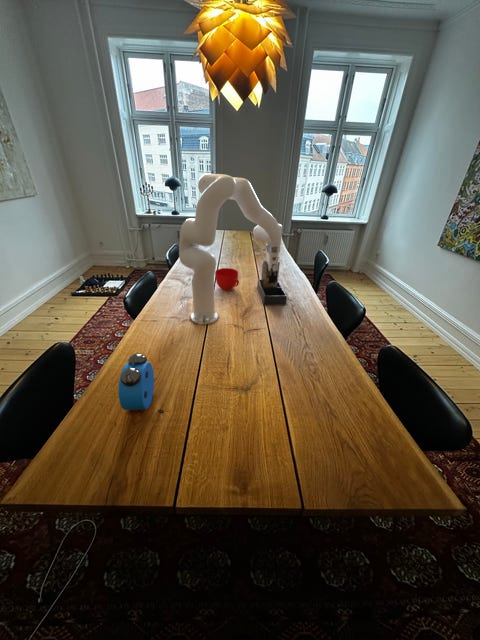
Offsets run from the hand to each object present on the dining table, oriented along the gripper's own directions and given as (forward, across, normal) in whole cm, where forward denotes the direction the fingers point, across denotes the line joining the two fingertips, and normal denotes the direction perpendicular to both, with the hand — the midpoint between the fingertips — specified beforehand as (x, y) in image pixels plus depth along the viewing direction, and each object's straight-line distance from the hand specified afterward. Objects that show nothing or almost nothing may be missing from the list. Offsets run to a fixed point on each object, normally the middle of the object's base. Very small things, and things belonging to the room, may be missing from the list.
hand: (269, 279), depth 144 cm
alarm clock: (+8, -78, +53) cm, 95 cm away
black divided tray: (+7, -6, 0) cm, 9 cm away
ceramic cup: (+8, +3, +23) cm, 24 cm away
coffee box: (+7, 0, 0) cm, 7 cm away
